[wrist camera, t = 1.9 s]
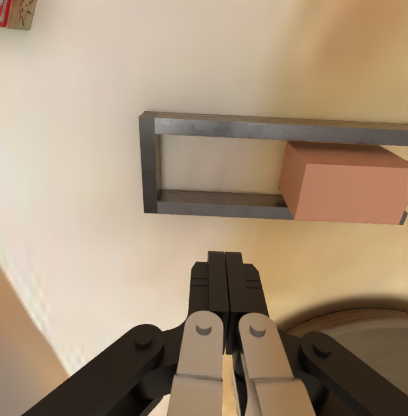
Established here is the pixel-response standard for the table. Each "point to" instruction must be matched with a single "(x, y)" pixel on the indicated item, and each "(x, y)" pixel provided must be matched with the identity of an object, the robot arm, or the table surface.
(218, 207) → the rectangular frame
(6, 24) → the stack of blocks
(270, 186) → the table surface
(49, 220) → the table surface
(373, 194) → the block
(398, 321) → the plant saucer
